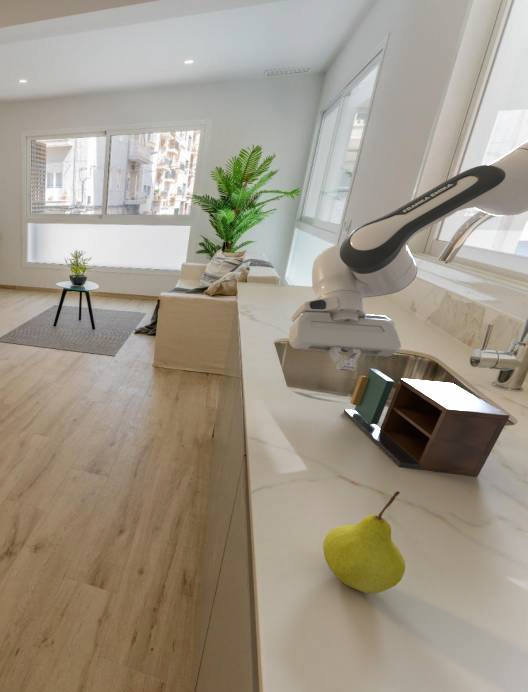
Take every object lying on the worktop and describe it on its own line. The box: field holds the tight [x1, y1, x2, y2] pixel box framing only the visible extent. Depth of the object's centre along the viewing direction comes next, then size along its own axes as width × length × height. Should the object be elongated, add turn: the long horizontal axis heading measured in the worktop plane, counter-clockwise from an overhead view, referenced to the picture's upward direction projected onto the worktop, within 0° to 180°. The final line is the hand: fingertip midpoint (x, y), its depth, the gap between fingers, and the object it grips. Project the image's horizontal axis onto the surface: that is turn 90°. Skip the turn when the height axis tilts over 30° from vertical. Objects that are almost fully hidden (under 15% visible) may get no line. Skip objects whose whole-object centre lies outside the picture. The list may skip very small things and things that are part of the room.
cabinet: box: [342, 378, 510, 478], centre depth 74 cm, size 11×19×11 cm, turn 168°
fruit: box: [322, 490, 406, 595], centre depth 46 cm, size 7×7×12 cm
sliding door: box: [349, 368, 395, 426], centre depth 81 cm, size 2×6×9 cm, turn 168°
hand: (346, 369), depth 89 cm, fingers closed
